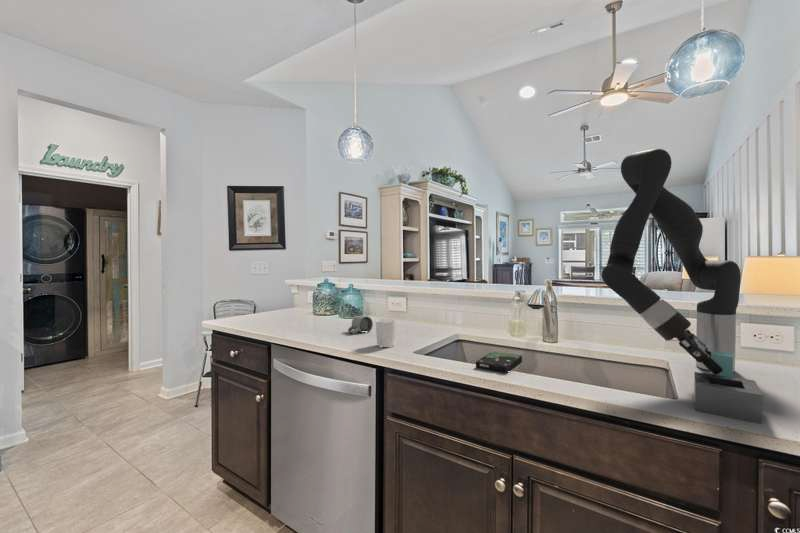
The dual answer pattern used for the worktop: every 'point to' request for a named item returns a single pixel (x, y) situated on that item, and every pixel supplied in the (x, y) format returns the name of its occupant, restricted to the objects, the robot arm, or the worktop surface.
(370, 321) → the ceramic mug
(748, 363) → the worktop surface
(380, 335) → the white cup
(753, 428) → the worktop surface
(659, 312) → the robot arm
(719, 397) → the socket block
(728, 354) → the teal peg
